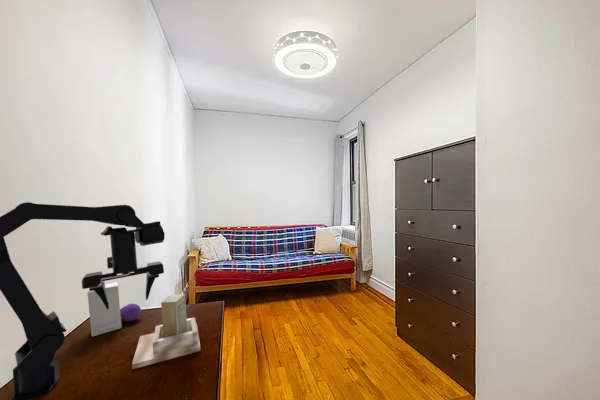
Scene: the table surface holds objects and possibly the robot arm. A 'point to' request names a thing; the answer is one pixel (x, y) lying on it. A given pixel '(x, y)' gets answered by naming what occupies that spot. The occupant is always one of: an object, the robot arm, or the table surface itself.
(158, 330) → the collar holder
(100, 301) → the skincare box
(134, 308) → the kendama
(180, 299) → the skincare box
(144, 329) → the table surface
